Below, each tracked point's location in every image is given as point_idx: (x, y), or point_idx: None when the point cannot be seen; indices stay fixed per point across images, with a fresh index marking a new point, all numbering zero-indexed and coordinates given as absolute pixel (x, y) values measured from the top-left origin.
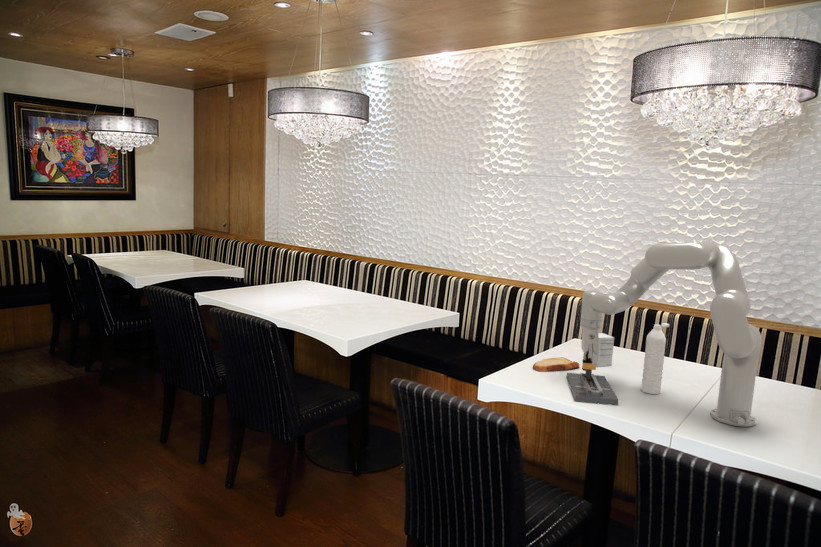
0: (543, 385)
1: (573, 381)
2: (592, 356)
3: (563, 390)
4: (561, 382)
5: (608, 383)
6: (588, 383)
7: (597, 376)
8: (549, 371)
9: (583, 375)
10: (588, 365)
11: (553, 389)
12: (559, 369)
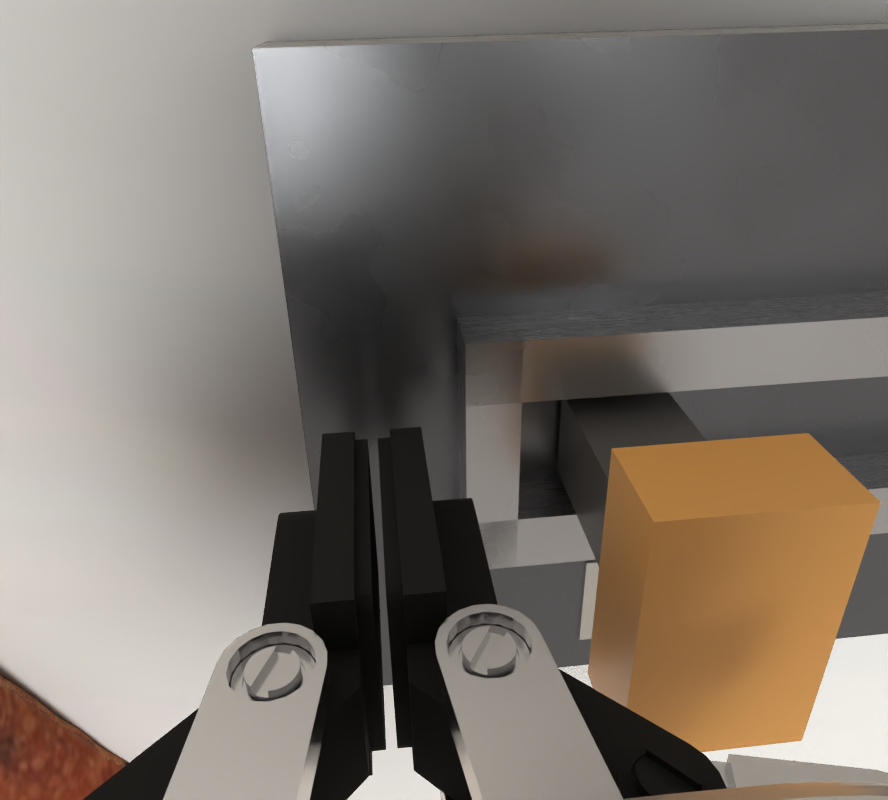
0: None
1: None
2: (610, 764)
3: (864, 642)
4: (570, 667)
5: (828, 42)
6: (837, 427)
7: (366, 230)
8: None
9: None
10: (825, 653)
11: (833, 719)
12: (43, 728)
